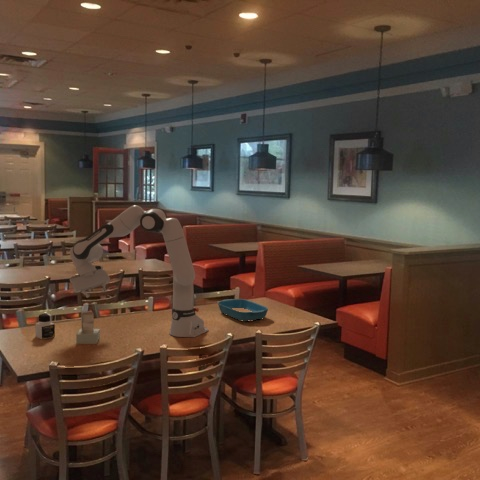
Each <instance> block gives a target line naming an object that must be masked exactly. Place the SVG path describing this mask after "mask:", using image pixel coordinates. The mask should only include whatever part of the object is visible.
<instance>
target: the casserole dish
mask: <svg viewBox="0 0 480 480" xmlns="http://www.w3.org/2000/svg"><path fill="white" fill-rule="evenodd" d="M217 304H218V308H219V311H220V312H221V313H222V314H223V313H224V314H223V315H225V314H227V315H229V316H231V317H230V318H232V317H233V318H232V319H234V318H236V319H235V320H237V319H238V320H237V321H239V320H243V321H248V320H256V319H261V320H263V319H264V318H265V317H266V316H267V313H268V311H269V308H268V307H266V306H265V305H262V304H260V303H258V302H254V301H252V300H248V299H244V298H230V299H222V300H220V301H217ZM232 308H244V309H248V310H250V311H252V312H239V311H236V310H233V309H232ZM227 315H226V316H227ZM229 316H228V317H229ZM262 318H263V319H262ZM243 321H242V322H243ZM256 321H257V320H256Z"/></svg>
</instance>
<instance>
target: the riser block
mask: <svg viewBox="0 0 480 480" xmlns="http://www.w3.org/2000/svg"><path fill="white" fill-rule="evenodd" d="M100 332H101V329H100V328H94V332H93V333H83V332H82V328H79V330H78V331H77V333H76V335H75V336H76V339H75V340H76V342H75V343H76V345H78V344H81V345H82V344H83V345H86V344H87V345H89V344H92V345H95V344H96V345H97V344H98V342H99V340H100V336H101V335H100V334H101V333H100Z"/></svg>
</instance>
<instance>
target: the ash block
mask: <svg viewBox="0 0 480 480" xmlns="http://www.w3.org/2000/svg"><path fill="white" fill-rule="evenodd" d="M94 317H95V316H94V312H93V311H92V310H86V311H81V329H82V332H83V333H93V332H94V329H95V328H94V325H95V324H94Z"/></svg>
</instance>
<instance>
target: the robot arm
mask: <svg viewBox="0 0 480 480" xmlns="http://www.w3.org/2000/svg"><path fill="white" fill-rule="evenodd" d="M138 227H141V229H143V230H144V231H146V232H150V233H152V232H153V233H161V234H162V237H163V240H164V244H165V247H166V252H167V256H168V259H169V263H170V266H171V270H172V309H171V314H172V315H171V323H170V328H169V335H170V336H173V337H177V338H196V337H199V336H201V335H202V334H205V333H207V332H209V328H208V327H206V326H205V322H204V320H203V318H201V317H200V316H198V315H197V313H196V312H198V313H199V311H200V308H199V307H194V295H195V294H194V293H195V292H194V281H195V278H196V271H195V268H194V264H193V261H192V257H191V254H190V251H189V247H188V243H187V239H186V236H185V232H184V229H183V227H182V224H181V223H180V220H179V219H178V218H176V217H168V216H167V213H166V211H165V210H164V209H162V208H160V207H155V208H148V209H146V210H145V209H143V208H142V207H141V206H140V205H137V204H133V205H131V206H129V207H128V208H126V209H124V211H122V212H121V213H120V214H118V215H117V216H116V217H115V218H113V219H112V220H110V221H108V222H107V223H105V224H103V225H102V226H100V227H99V228H97V229H95V231H93V232H92V233H90V234H89V235H87V236H86V237H85V238H82V239H79V240H77V241H76V242H75V243H74V244H73V246H72V247H70V249H69V255H70V259H71V261H72V265H74V267H75V269H76V273H77V274H76V275H73V276H71V277H69V282H70V284H71V285H72V286H71V287H72V291H73V292H74V293H75V294H78V293H81V294H83V295H84V296H85V297H86V298H90V296H91V295H90V293H89V292H86V291H87V290H91V289H95V288H97V287H98V288H99V287H102V289H101V291H102V293H106V292H107V288H106V286H107V284H109V283H110V281H111V277H110V276H109V274H108V272H107V271H106V270H105V269H104V266H103V265H97V264H96V265H93V262H96V261H99V260H100V259H101V258H102V257H103V255H104V248H103V246H102V245H101V243H102V242H103V241H105V240H107V239H110V238H121V237H126V236H127V235H129V234H131V233H132V232H133V231H134V230H136V229H137V228H138Z"/></svg>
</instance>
